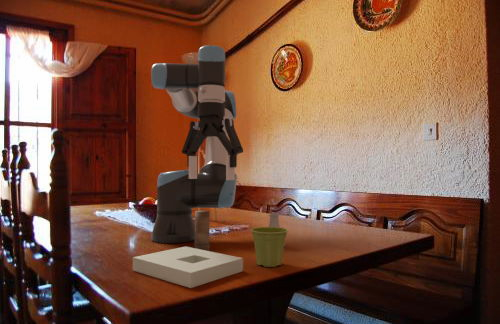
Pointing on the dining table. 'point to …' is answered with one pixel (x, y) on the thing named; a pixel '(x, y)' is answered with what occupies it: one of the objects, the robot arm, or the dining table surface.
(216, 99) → the robot arm
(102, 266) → the dining table surface
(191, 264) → the board
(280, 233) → the plant pot
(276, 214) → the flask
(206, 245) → the peg
